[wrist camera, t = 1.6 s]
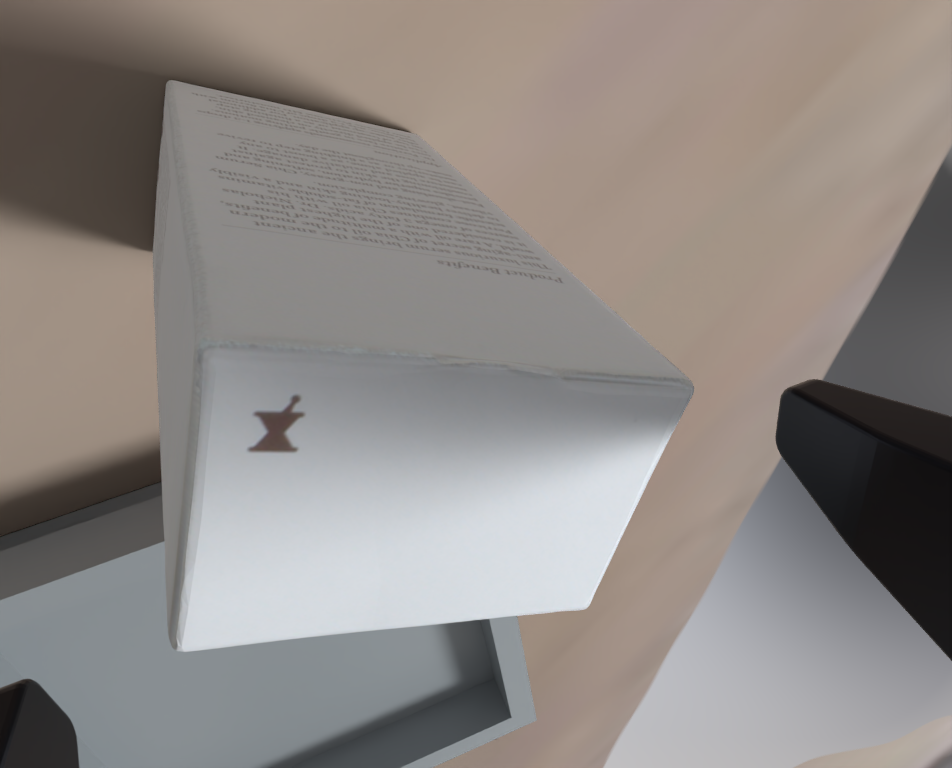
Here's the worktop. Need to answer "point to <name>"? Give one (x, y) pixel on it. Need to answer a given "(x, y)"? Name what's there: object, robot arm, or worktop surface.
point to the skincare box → (376, 387)
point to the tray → (235, 665)
